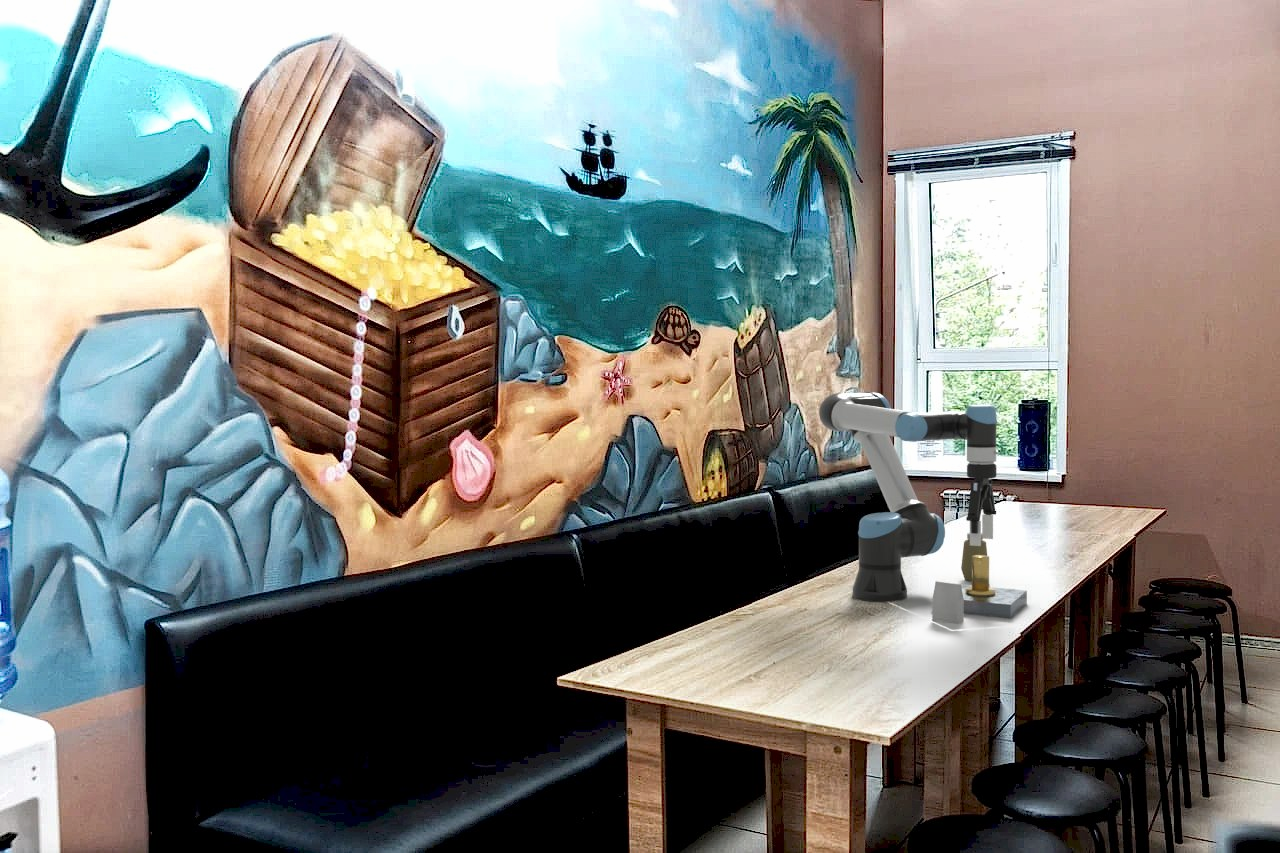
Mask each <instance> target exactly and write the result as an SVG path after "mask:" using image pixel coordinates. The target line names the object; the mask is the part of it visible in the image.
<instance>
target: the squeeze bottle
mask: <svg viewBox="0 0 1280 853" xmlns="http://www.w3.org/2000/svg"><path fill="white" fill-rule="evenodd" d="M966 534H967V535H966V537H967V538H966V540H964V542H963V547H962V548H963V549H962V558H961V564H960V565H961V566H960V567H961V568H960V569H961V572H962V575H963V578H964V581H967V582H970V583H972V556H975V555H983V556H988V549H987V542H986V540H984V539H983V538H982V532H981V546H971V545H970V532H967V533H966Z"/></svg>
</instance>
